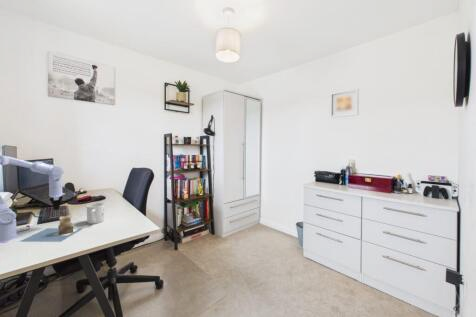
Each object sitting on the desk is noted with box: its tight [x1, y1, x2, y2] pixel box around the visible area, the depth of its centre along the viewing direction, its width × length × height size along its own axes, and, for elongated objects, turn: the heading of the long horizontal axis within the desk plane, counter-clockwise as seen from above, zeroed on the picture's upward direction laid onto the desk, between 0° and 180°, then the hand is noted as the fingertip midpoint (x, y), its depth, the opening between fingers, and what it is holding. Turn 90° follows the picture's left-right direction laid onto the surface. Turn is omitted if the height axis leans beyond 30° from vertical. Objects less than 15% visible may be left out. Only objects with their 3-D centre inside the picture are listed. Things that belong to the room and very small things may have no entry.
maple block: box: [59, 215, 72, 228], centre depth 112 cm, size 4×4×5 cm
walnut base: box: [57, 222, 74, 235], centre depth 113 cm, size 6×6×4 cm
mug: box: [86, 202, 105, 225], centre depth 127 cm, size 12×9×11 cm
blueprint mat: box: [19, 227, 84, 243], centre depth 110 cm, size 20×16×1 cm
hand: (56, 209), depth 120 cm, fingers closed
